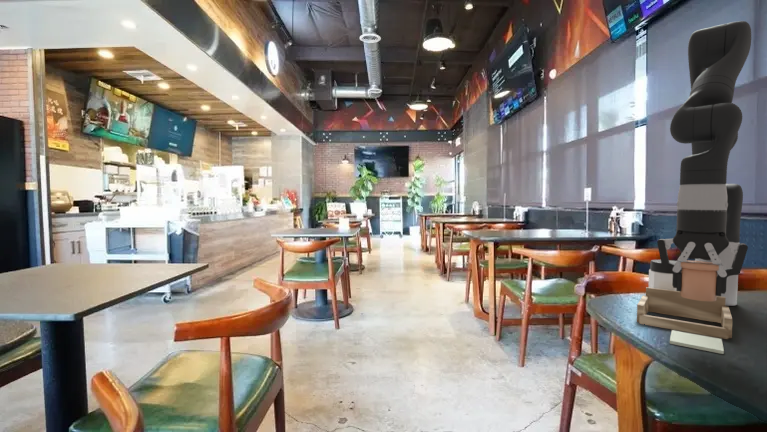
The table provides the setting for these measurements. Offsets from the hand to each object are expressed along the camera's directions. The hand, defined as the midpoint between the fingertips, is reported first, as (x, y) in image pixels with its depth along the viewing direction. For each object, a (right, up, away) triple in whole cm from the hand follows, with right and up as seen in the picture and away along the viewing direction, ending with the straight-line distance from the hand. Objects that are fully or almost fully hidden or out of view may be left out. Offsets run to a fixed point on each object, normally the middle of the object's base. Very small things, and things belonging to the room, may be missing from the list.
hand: (697, 292), depth 75 cm
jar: (+15, -9, +27) cm, 32 cm away
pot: (0, -1, 0) cm, 1 cm away
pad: (0, -10, 0) cm, 10 cm away
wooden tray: (+7, -10, +13) cm, 18 cm away
